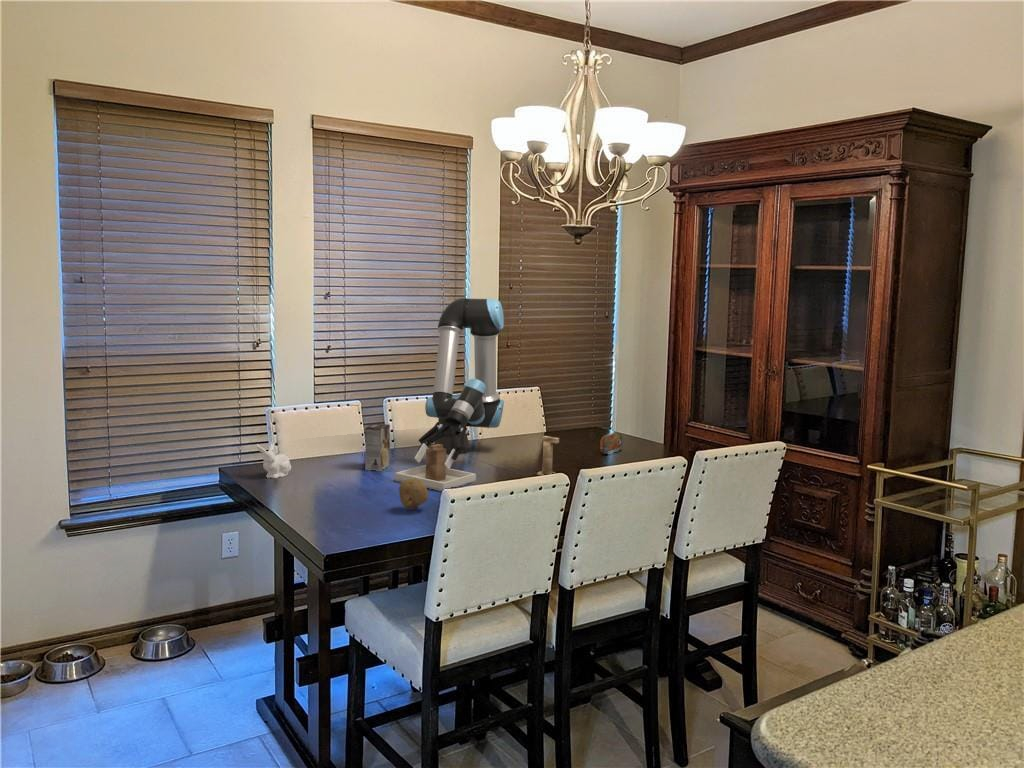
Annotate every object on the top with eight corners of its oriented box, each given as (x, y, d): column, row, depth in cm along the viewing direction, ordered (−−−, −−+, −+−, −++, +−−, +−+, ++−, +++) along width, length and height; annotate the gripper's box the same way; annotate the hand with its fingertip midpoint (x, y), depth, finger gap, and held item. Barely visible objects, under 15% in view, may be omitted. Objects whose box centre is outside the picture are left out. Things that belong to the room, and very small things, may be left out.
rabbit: (271, 480, 281) (271, 446, 280) (252, 476, 286) (252, 443, 284) (297, 474, 292) (297, 441, 290) (278, 470, 296) (277, 437, 295)
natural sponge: (428, 506, 257) (429, 475, 256) (426, 514, 248) (427, 482, 247) (400, 505, 257) (400, 474, 255) (397, 513, 248) (397, 481, 246)
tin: (604, 456, 337) (605, 436, 336) (597, 455, 339) (598, 435, 338) (622, 451, 349) (623, 432, 348) (616, 450, 351) (617, 431, 350)
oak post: (533, 476, 300) (535, 437, 298) (544, 472, 306) (545, 434, 304) (551, 479, 296) (552, 439, 294) (561, 475, 302) (562, 437, 300)
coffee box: (373, 464, 309) (374, 423, 307) (389, 466, 308) (390, 424, 306) (364, 470, 300) (365, 427, 298) (381, 471, 299) (381, 428, 297)
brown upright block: (425, 479, 286) (426, 445, 285) (434, 476, 291) (435, 443, 289) (436, 481, 284) (437, 447, 282) (445, 479, 288) (446, 445, 286)
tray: (394, 481, 286) (394, 472, 286) (428, 472, 301) (428, 464, 300) (443, 492, 274) (443, 483, 273) (475, 482, 288) (476, 473, 288)
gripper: (491, 426, 290) (464, 475, 280) (437, 417, 304) (409, 463, 294) (482, 413, 285) (455, 462, 275) (428, 405, 299) (399, 451, 289)
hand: (431, 463), depth 284 cm, fingers open, 13 cm apart
